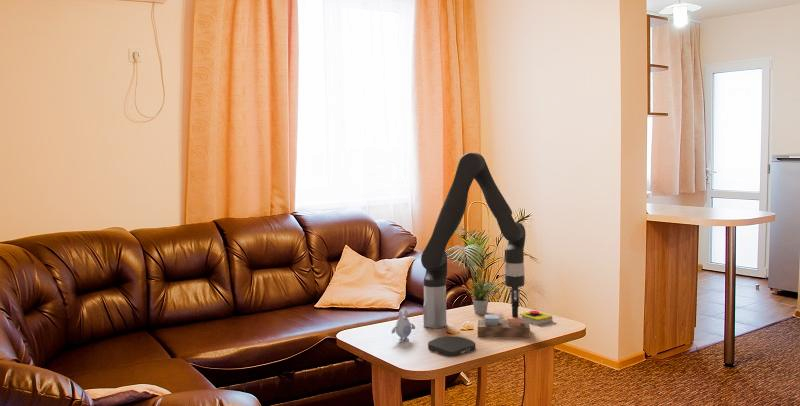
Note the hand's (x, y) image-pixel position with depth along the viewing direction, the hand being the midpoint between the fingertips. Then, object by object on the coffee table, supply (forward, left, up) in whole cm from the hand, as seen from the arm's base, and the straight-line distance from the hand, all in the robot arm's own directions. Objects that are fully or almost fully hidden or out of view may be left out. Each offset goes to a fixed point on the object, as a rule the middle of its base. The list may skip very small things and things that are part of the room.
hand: (515, 316), depth 231 cm
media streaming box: (-24, -20, -8) cm, 32 cm away
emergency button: (+9, +19, -8) cm, 22 cm away
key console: (-5, 0, -7) cm, 8 cm away
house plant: (-14, +29, -7) cm, 33 cm away
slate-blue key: (-9, 0, -4) cm, 10 cm away
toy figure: (-43, -13, -7) cm, 45 cm away
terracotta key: (0, 0, -4) cm, 4 cm away
